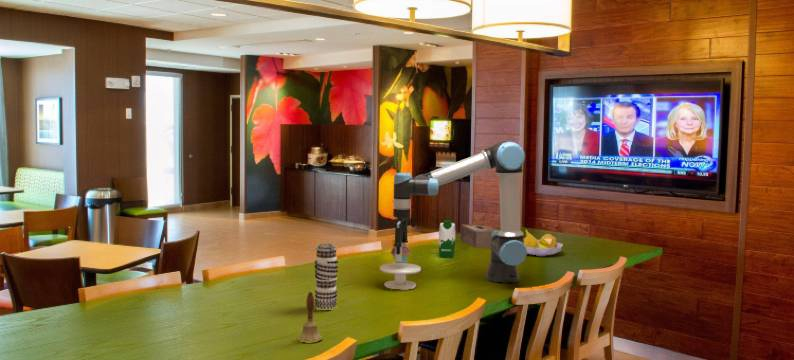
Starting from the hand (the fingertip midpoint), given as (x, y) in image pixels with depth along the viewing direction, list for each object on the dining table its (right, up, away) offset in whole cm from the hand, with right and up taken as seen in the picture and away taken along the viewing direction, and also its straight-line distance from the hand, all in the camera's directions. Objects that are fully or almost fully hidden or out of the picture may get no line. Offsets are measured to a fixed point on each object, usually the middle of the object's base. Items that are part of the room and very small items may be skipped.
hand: (400, 259), depth 292 cm
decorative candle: (-29, -15, -35) cm, 48 cm away
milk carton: (+25, -7, +67) cm, 72 cm away
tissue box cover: (+48, -4, +108) cm, 118 cm away
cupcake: (0, -2, 0) cm, 2 cm away
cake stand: (0, -12, +1) cm, 12 cm away
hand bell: (-30, -18, -72) cm, 80 cm away
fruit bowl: (+78, -7, +81) cm, 113 cm away
